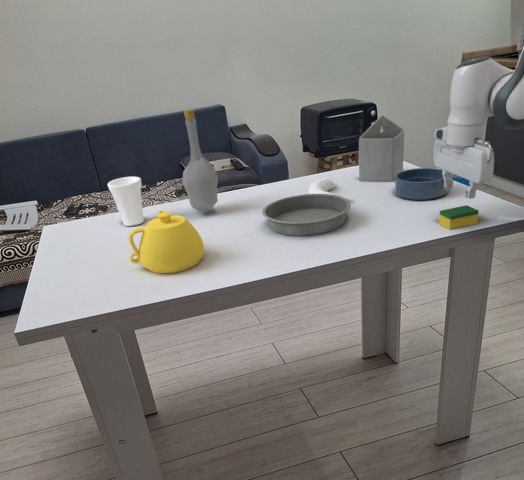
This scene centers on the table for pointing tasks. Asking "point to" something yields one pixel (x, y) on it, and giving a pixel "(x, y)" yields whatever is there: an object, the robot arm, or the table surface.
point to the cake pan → (306, 214)
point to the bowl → (420, 184)
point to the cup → (128, 199)
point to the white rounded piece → (321, 187)
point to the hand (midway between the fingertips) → (458, 192)
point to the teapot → (167, 244)
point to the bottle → (199, 172)
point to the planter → (381, 151)
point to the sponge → (458, 217)
